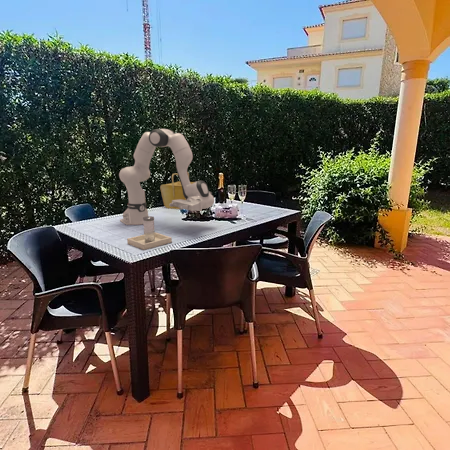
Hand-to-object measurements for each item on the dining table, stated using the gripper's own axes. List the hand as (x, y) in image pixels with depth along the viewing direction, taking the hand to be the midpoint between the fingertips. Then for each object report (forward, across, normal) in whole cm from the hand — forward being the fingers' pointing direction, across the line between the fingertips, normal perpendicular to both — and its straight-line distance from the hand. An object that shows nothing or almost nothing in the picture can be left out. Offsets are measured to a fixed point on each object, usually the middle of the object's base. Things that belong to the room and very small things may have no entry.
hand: (175, 206), depth 182 cm
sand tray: (+19, +2, +18) cm, 26 cm away
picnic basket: (-62, -70, +19) cm, 96 cm away
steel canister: (+19, +2, +17) cm, 26 cm away
